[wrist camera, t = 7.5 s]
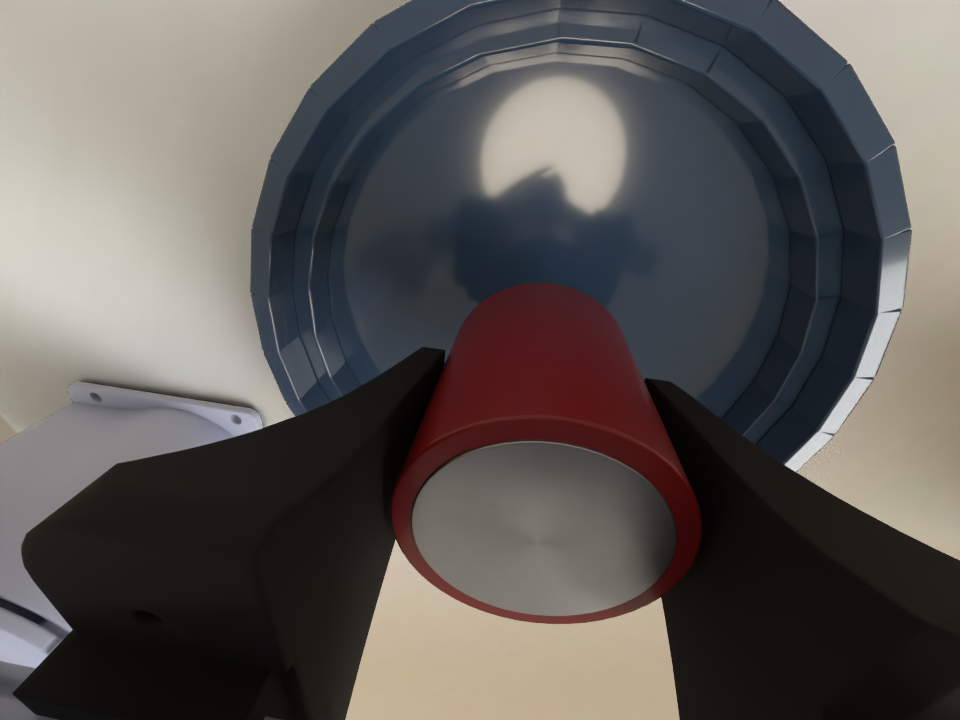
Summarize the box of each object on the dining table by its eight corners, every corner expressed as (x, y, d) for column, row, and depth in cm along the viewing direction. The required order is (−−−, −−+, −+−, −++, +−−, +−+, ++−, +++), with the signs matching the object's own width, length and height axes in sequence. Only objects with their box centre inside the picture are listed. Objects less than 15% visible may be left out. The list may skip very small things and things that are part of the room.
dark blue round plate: (328, 464, 20) (296, 514, 17) (259, -27, 11) (168, -81, 8) (701, 525, 18) (728, 589, 16) (981, 29, 9) (1151, -14, 7)
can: (448, 420, 13) (391, 600, 8) (457, 270, 11) (382, 394, 6) (602, 443, 13) (647, 648, 8) (650, 295, 10) (764, 450, 5)
